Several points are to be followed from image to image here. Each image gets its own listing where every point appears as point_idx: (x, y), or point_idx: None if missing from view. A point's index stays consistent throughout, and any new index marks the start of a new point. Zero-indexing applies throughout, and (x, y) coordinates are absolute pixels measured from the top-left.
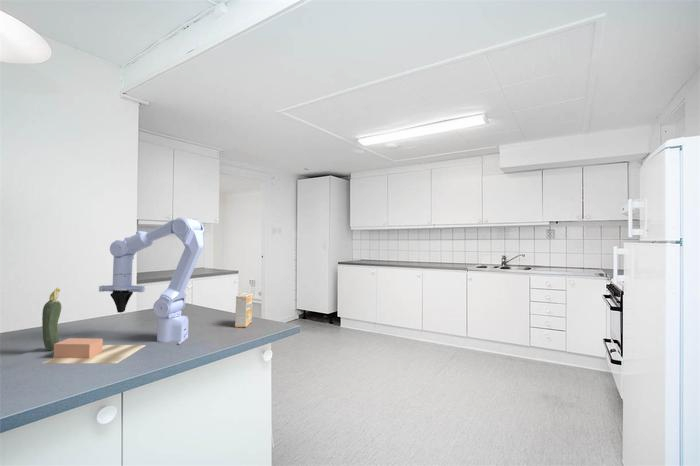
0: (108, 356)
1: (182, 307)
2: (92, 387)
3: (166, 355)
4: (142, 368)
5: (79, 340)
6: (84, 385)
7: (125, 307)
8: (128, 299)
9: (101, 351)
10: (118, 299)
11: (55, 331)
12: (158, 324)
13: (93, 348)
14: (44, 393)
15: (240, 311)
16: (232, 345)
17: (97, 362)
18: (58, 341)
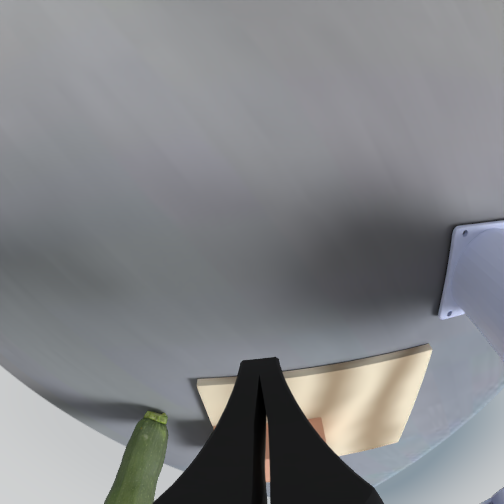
0: (361, 430)
1: None
2: (390, 473)
3: (483, 371)
4: (445, 426)
5: (265, 468)
6: (376, 475)
7: (285, 382)
8: (323, 446)
9: (321, 420)
10: (265, 501)
11: (158, 474)
12: (495, 350)
13: None
14: None
15: None
16: None
17: (355, 450)
18: (163, 439)
